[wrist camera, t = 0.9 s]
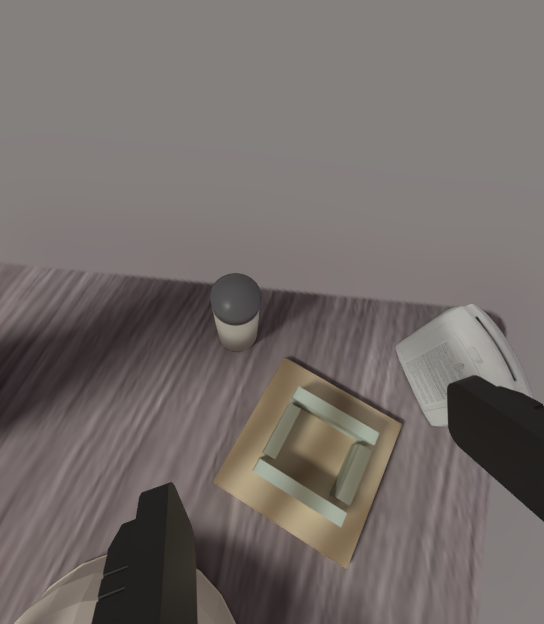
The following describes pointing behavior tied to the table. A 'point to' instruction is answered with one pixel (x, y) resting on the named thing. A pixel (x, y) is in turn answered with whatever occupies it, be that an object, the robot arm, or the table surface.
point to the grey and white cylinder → (236, 310)
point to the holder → (311, 460)
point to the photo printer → (457, 358)
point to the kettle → (84, 594)
